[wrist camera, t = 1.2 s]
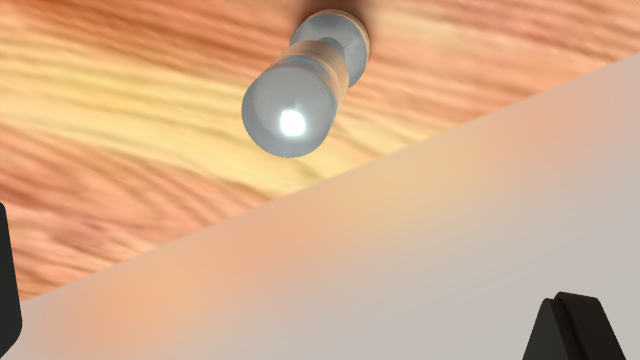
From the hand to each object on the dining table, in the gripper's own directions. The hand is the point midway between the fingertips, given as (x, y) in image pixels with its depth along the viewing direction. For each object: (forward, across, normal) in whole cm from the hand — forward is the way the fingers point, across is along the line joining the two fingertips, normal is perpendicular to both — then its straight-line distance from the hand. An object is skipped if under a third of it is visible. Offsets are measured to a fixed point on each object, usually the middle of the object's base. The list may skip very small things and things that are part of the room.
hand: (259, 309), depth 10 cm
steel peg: (+29, +2, +2) cm, 29 cm away
